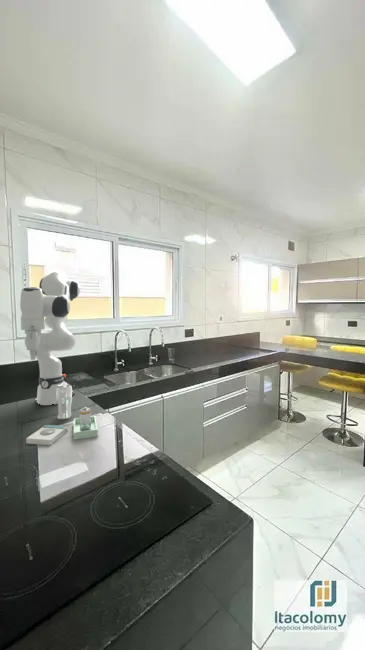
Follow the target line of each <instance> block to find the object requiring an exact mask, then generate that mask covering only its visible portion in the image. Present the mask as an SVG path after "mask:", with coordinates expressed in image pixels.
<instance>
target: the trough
mask: <svg viewBox="0 0 365 650" xmlns="http://www.w3.org/2000/svg"><path fill="white" fill-rule="evenodd" d="M98 432H99V431H98V424H97V416H96V415H91V430H86V431H80V417H75V418H73V433H72V435H73V440H74V441H75V440H79V439H80V440H81V439H89V438H95V437H99V434H98Z"/></svg>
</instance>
